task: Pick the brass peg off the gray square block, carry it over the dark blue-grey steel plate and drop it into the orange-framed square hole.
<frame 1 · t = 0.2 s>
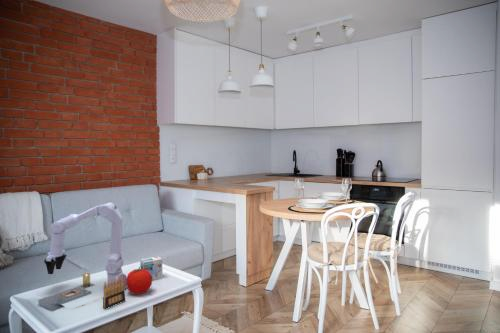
hand: (54, 271, 184), 11 cm above the table, tool pointing down, fingers open, 7 cm apart
tomato: (139, 292, 182), on the table
brass peg: (86, 285, 189), point 1 cm above the table, touching gray square block
light bulb box: (151, 278, 203), on the table
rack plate: (65, 300, 174), on the table
gray square block: (86, 288, 189), on the table
ammunition clip: (114, 305, 168), on the table
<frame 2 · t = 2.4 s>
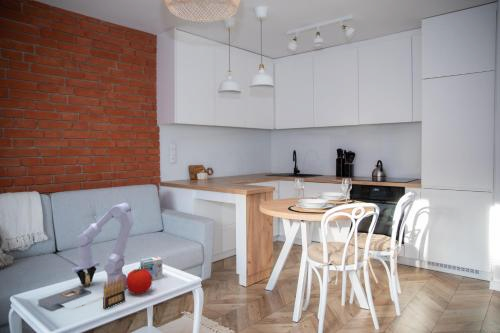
hand: (86, 283, 189), 3 cm above the table, tool pointing down, fingers closed on brass peg, 3 cm apart
brass peg: (86, 285, 189), point 1 cm above the table, touching gripper, gray square block
everything else where it was.
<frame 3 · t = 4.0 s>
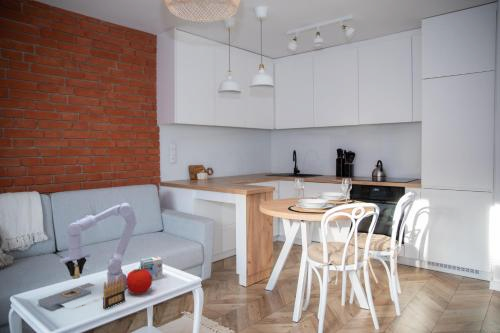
hand: (76, 274, 181), 10 cm above the table, tool pointing down, fingers closed on brass peg, 3 cm apart
brass peg: (76, 277, 181), point 8 cm above the table, touching gripper
everything else where it was.
when the fingers open (5 cm above the table, at t = 5.6 s): brass peg drops 4 cm, resting in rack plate.
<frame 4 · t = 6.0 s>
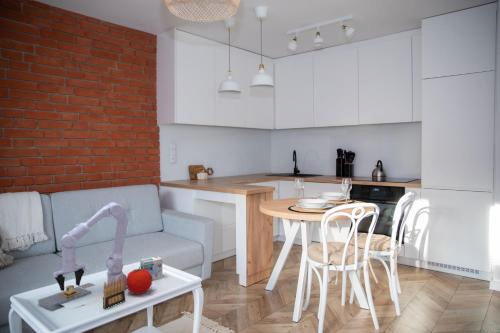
hand: (70, 287, 176), 5 cm above the table, tool pointing down, fingers open, 7 cm apart
brass peg: (70, 298, 176), resting in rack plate
everything else where it was.
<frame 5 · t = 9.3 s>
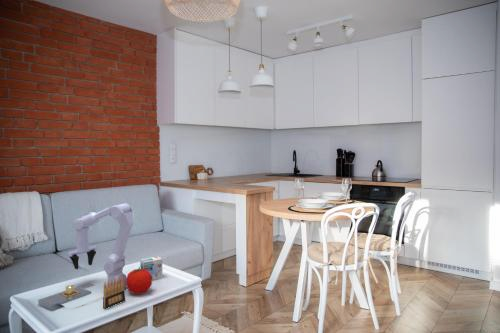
hand: (83, 266, 192), 10 cm above the table, tool pointing down, fingers open, 7 cm apart
nothing on the table moved.
at the end: brass peg 0.3 cm from the target spot on the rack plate, point 0.0 cm above the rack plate's base; brass peg tilted 0° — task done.
